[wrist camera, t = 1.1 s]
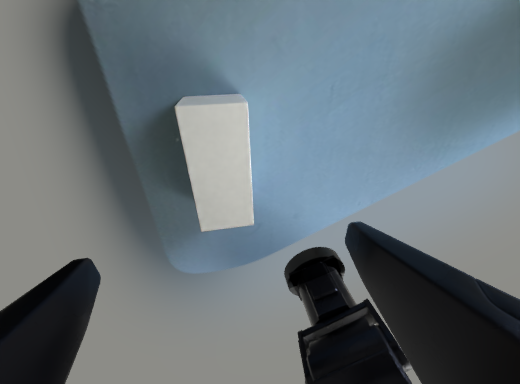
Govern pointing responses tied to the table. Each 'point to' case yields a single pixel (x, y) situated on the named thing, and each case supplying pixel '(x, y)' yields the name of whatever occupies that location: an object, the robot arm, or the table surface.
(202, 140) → the block
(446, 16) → the table surface
